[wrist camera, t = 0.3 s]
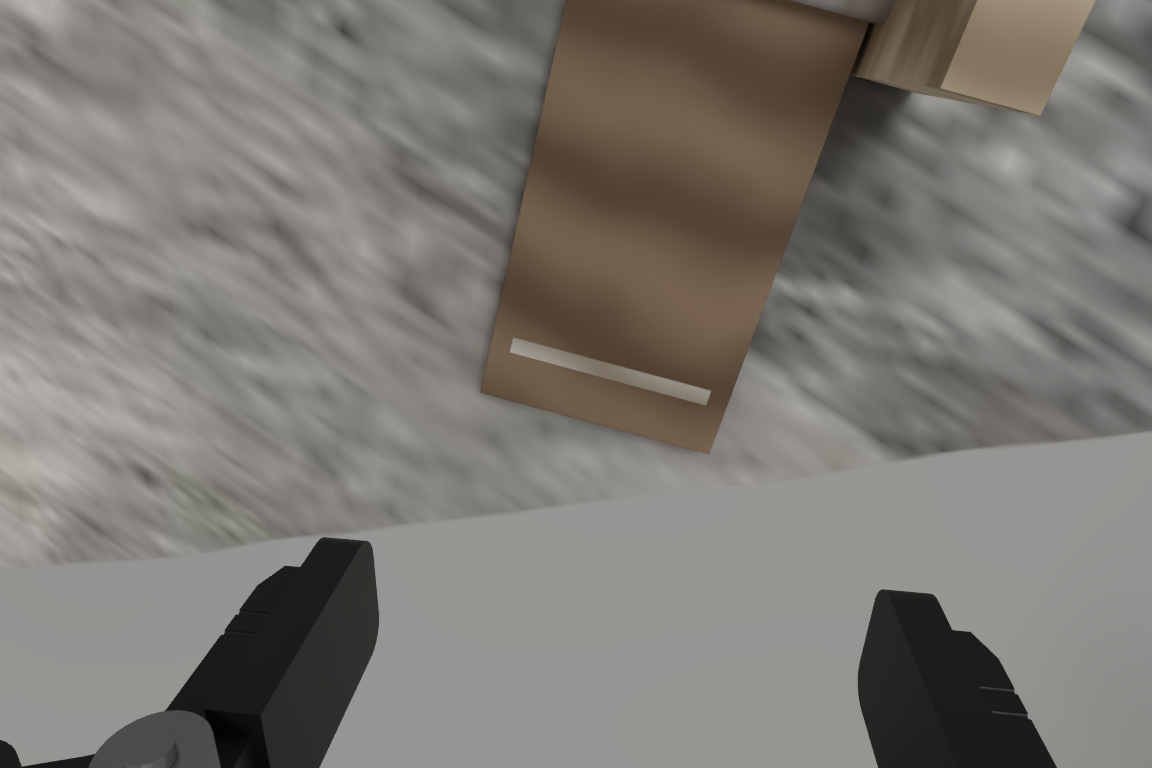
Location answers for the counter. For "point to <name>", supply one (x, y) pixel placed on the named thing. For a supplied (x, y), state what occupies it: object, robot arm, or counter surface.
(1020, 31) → the marking gauge
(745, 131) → the walnut board
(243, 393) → the counter surface
